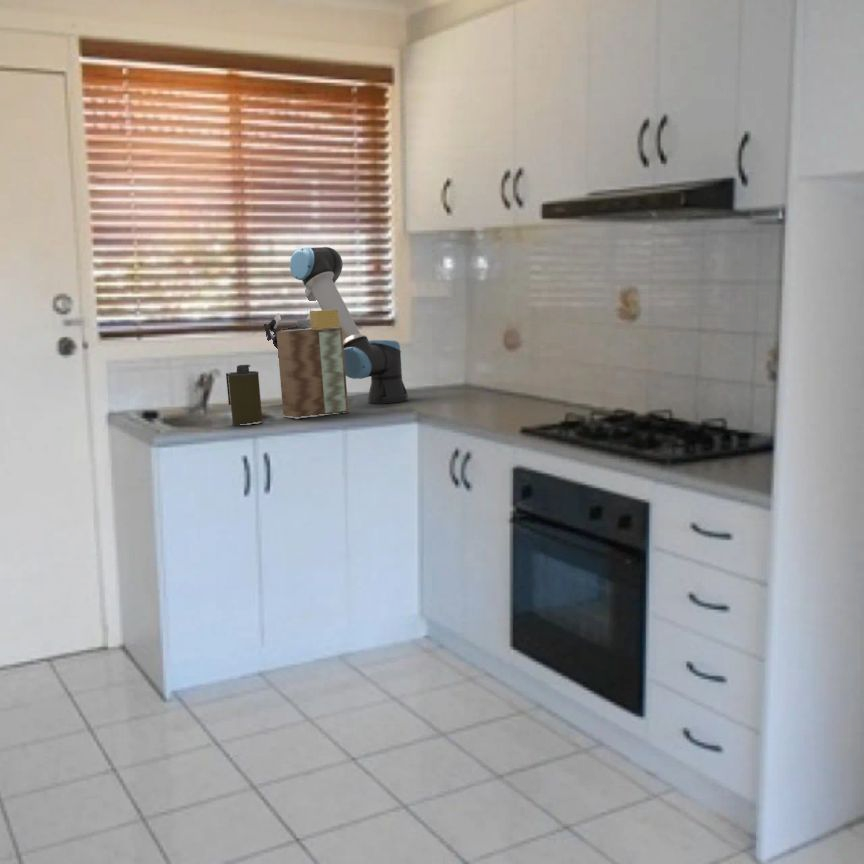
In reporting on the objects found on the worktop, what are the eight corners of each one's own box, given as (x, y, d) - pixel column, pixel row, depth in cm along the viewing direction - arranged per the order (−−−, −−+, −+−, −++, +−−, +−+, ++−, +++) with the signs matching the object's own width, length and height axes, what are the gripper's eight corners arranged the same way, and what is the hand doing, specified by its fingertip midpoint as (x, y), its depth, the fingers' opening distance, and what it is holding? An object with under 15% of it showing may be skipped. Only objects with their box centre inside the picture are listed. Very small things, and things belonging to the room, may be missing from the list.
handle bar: (311, 326, 372) (309, 309, 372) (339, 326, 352) (337, 309, 351) (290, 327, 368) (289, 311, 368) (318, 328, 348) (316, 311, 347)
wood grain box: (335, 410, 366) (328, 326, 362) (348, 413, 357) (342, 326, 352) (283, 417, 356) (276, 330, 352) (296, 420, 347) (288, 331, 342)
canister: (266, 420, 350) (261, 362, 347) (258, 425, 340) (253, 365, 337) (235, 422, 351) (230, 364, 348) (227, 426, 341) (221, 367, 338)
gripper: (311, 348, 395) (330, 321, 377) (251, 354, 382) (267, 326, 365) (306, 331, 397) (324, 304, 380) (246, 336, 384) (261, 308, 367)
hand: (296, 315), depth 372 cm, fingers open, 13 cm apart
